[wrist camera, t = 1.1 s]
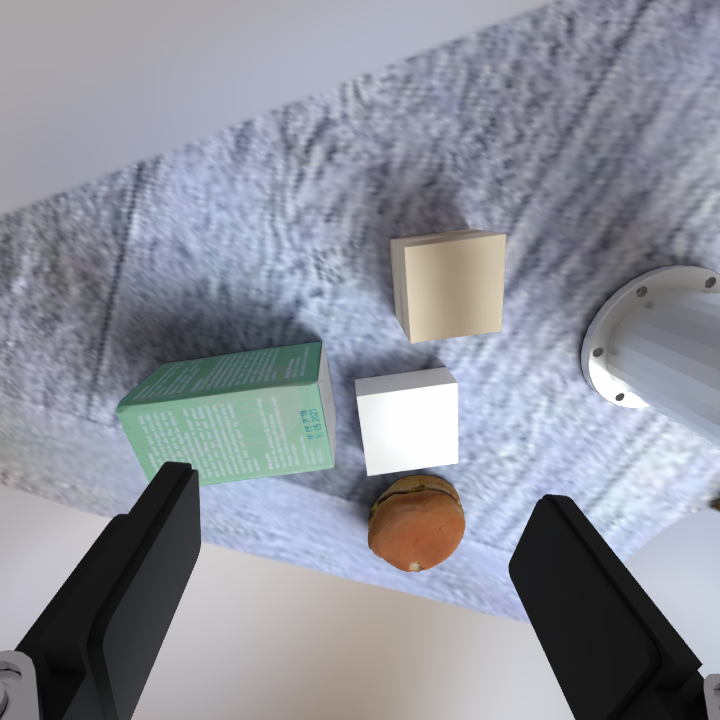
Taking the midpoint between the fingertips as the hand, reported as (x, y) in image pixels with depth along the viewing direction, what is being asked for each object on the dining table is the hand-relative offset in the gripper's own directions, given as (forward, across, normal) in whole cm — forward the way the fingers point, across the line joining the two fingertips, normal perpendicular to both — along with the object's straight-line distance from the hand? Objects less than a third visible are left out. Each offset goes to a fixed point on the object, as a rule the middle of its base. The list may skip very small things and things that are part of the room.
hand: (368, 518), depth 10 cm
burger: (+20, -9, +20) cm, 30 cm away
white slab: (+20, -6, +8) cm, 22 cm away
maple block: (+20, -6, -4) cm, 21 cm away
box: (+20, +8, +8) cm, 23 cm away
